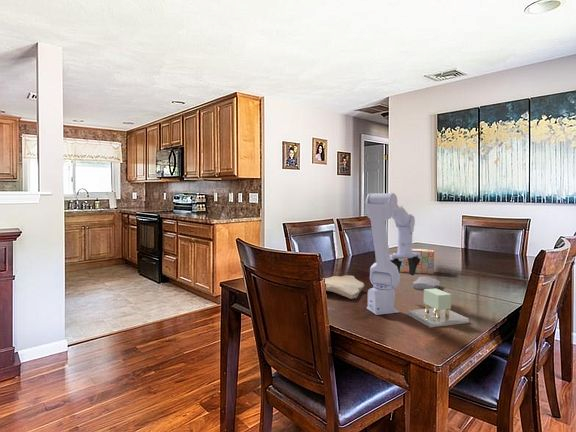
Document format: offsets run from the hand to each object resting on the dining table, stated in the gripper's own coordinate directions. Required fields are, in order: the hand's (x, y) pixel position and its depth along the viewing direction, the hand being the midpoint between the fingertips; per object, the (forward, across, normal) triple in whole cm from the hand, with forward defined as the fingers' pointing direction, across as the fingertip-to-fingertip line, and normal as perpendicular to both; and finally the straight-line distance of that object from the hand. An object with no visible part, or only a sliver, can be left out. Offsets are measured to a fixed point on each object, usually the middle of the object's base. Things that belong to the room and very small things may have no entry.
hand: (404, 275), depth 155 cm
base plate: (+9, -6, -24) cm, 27 cm away
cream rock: (+10, -22, +20) cm, 31 cm away
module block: (+5, -6, -24) cm, 26 cm away
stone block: (+10, +21, +9) cm, 25 cm away
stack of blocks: (+10, +38, +39) cm, 55 cm away
